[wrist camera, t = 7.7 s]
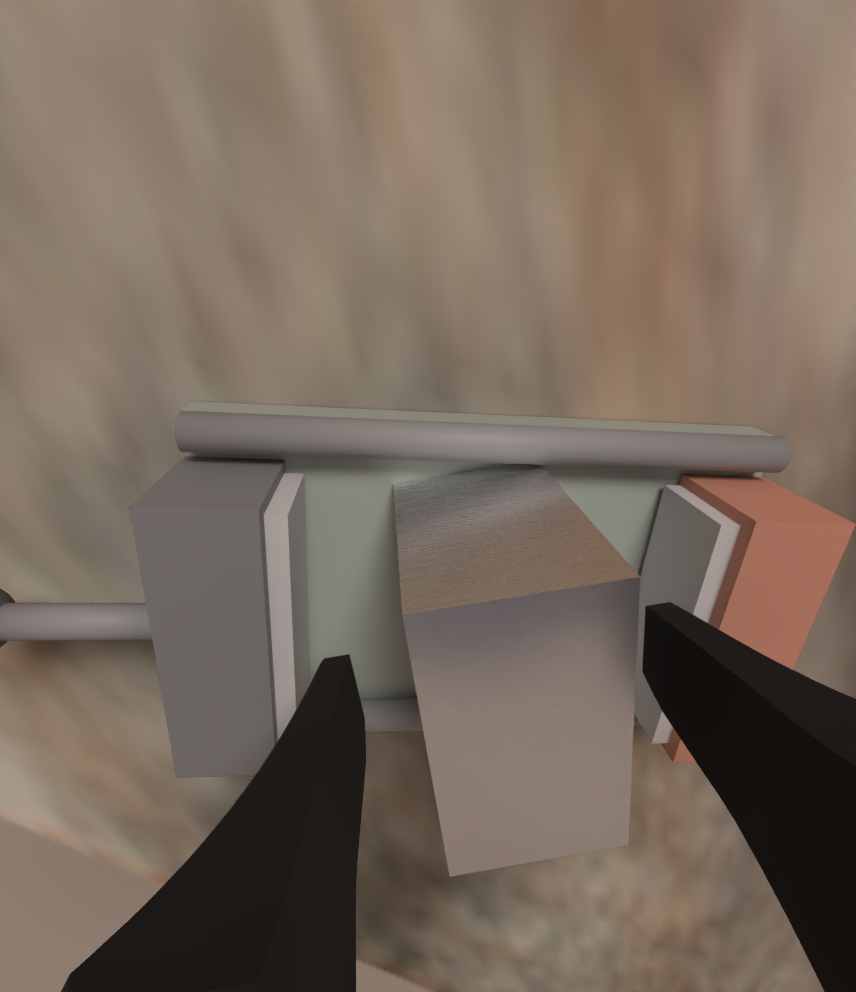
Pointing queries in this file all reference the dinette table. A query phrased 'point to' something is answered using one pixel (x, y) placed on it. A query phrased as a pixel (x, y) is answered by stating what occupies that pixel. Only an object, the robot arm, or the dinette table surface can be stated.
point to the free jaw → (737, 571)
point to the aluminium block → (518, 664)
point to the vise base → (337, 550)
